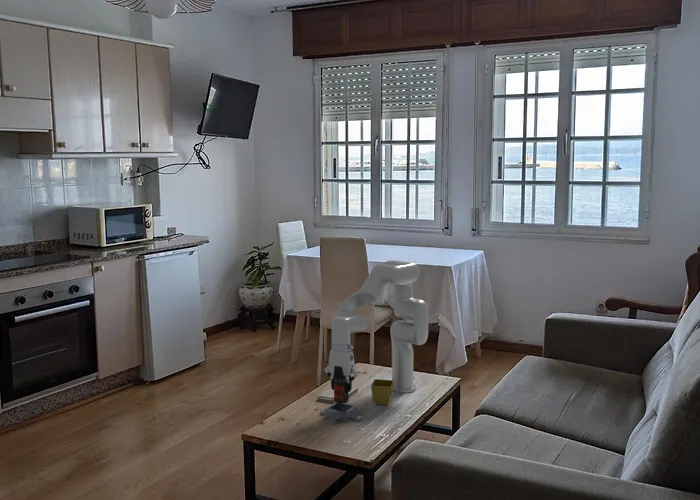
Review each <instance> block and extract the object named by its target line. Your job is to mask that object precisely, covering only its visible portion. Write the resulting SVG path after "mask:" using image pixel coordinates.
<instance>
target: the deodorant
mask: <svg viewBox="0 0 700 500" xmlns="http://www.w3.org/2000/svg"><path fill="white" fill-rule="evenodd" d="M346 383H347V380H346V377H345V376H344V374H343V369H342V367H338V366H334V402H336V403H348V402H349V401H350V400H349V399H350V398H349V392H348V393H347V392H346Z"/></svg>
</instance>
